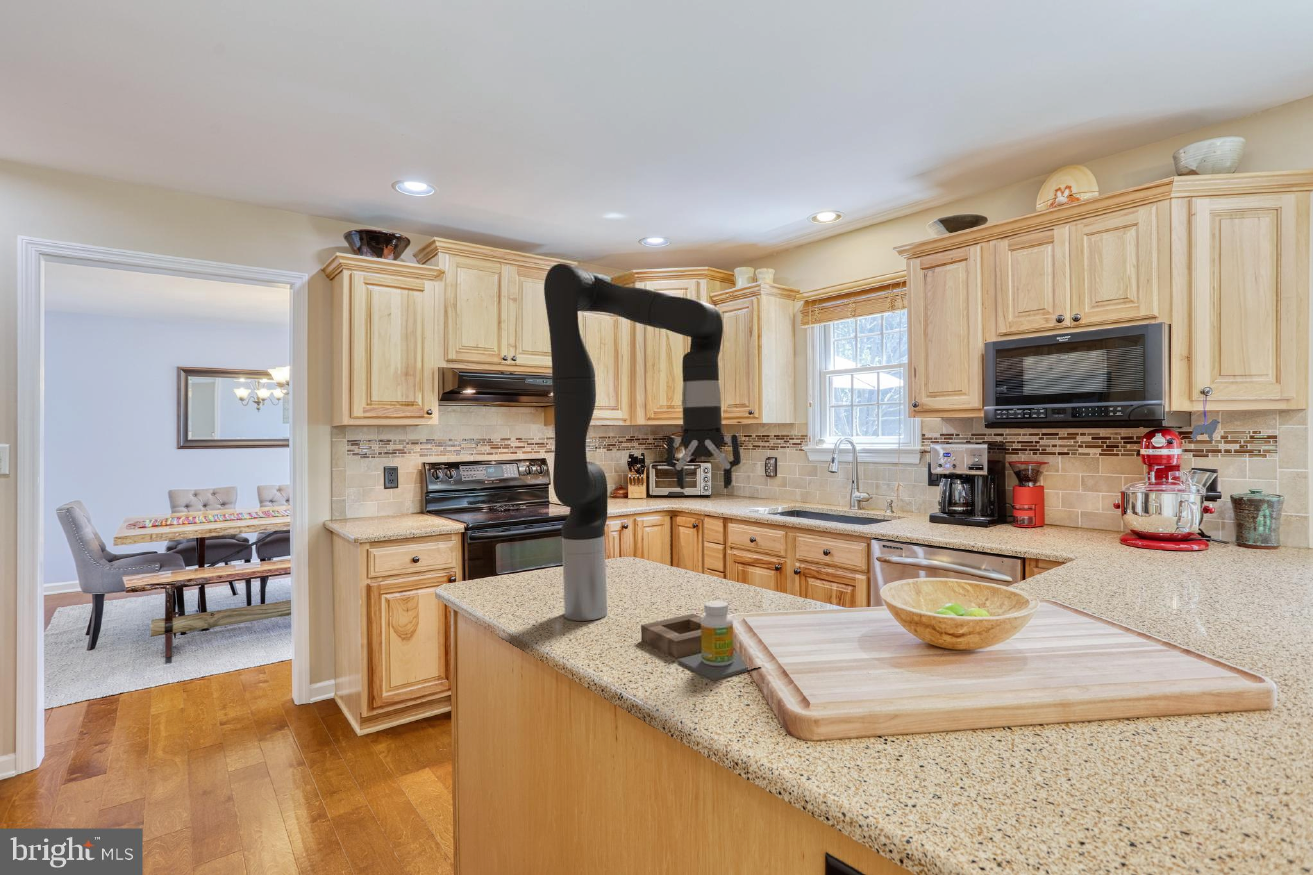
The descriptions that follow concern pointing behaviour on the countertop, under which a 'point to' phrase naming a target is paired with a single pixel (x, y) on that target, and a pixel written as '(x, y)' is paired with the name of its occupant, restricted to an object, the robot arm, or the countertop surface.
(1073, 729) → the countertop surface
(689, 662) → the mat
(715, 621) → the supplement bottle
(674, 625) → the frame
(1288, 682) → the countertop surface
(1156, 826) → the countertop surface
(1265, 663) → the countertop surface
